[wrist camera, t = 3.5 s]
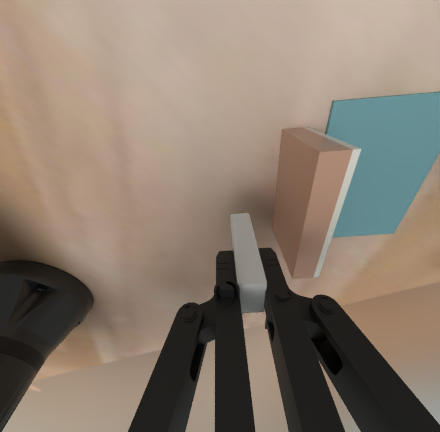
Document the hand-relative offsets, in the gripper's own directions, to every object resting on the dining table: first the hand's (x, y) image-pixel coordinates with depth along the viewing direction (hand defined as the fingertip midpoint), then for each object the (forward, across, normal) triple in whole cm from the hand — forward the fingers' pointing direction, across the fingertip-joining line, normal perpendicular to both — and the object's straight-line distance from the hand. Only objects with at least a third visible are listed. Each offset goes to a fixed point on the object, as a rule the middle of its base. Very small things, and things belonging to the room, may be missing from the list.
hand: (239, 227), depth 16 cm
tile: (+7, +6, 0) cm, 9 cm away
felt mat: (+7, +15, 0) cm, 17 cm away
